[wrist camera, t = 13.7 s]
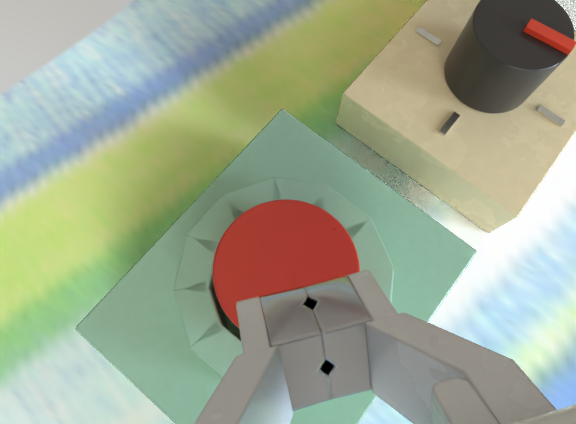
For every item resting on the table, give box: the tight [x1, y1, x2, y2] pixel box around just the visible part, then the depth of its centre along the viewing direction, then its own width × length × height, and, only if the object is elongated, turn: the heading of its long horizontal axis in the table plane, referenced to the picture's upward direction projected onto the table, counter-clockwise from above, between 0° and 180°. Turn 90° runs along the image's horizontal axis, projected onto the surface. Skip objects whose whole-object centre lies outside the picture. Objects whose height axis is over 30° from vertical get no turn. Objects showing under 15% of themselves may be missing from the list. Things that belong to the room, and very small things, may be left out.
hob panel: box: [335, 0, 576, 233], centre depth 24 cm, size 11×10×3 cm
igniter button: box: [213, 199, 360, 328], centre depth 14 cm, size 4×4×2 cm
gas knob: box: [444, 0, 576, 113], centre depth 21 cm, size 4×4×4 cm
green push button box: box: [75, 109, 477, 424], centre depth 18 cm, size 12×10×7 cm
